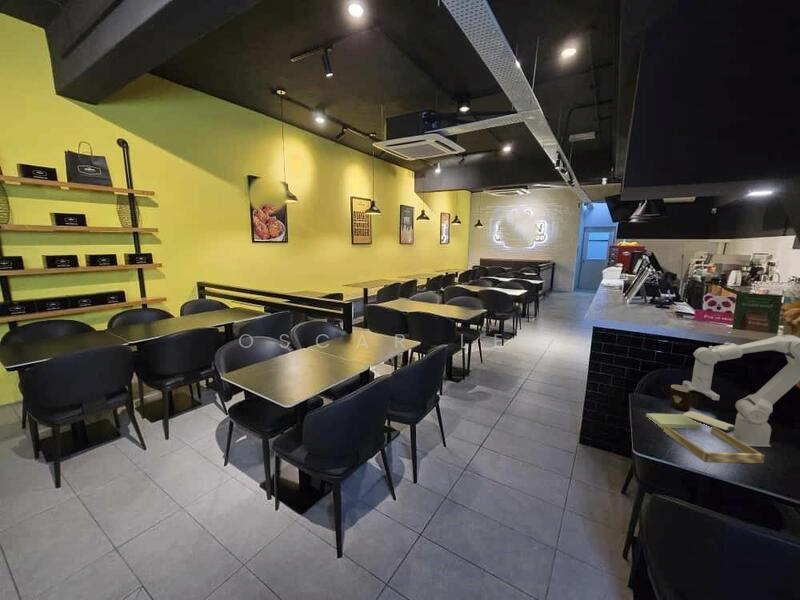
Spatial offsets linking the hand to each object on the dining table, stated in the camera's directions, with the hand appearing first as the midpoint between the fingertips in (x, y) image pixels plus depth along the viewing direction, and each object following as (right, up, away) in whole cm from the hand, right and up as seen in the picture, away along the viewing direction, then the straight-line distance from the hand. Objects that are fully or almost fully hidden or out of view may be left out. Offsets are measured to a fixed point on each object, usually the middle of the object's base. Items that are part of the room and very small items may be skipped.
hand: (697, 409), depth 133 cm
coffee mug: (+10, -7, +22) cm, 25 cm away
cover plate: (-4, -9, +7) cm, 12 cm away
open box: (-4, -11, -10) cm, 15 cm away
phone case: (+12, -9, +8) cm, 17 cm away
